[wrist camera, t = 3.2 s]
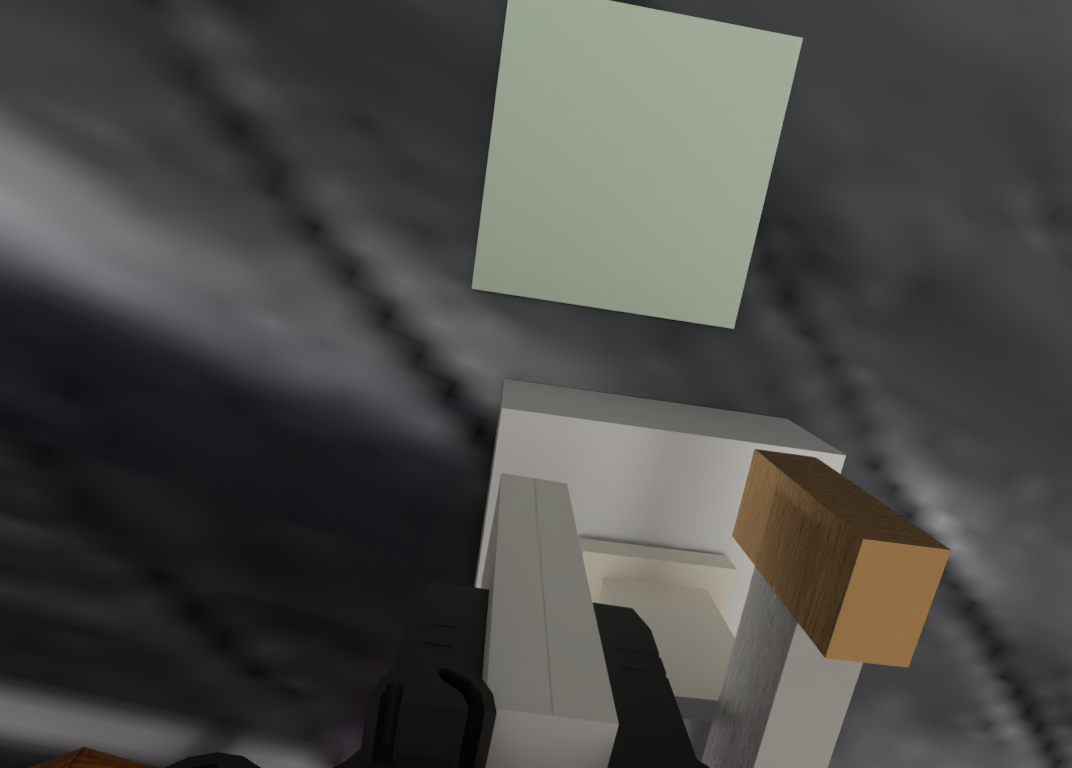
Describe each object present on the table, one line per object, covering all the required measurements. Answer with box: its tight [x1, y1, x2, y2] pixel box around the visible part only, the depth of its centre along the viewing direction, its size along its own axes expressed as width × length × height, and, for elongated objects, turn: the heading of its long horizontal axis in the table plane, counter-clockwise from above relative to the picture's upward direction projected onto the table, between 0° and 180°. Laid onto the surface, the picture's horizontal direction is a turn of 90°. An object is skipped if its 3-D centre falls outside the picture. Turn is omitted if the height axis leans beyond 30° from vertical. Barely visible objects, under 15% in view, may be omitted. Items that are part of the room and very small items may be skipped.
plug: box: [580, 538, 737, 762], centre depth 22 cm, size 6×6×13 cm
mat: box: [472, 0, 803, 329], centre depth 24 cm, size 12×12×1 cm
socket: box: [474, 379, 846, 638], centre depth 22 cm, size 14×20×14 cm
